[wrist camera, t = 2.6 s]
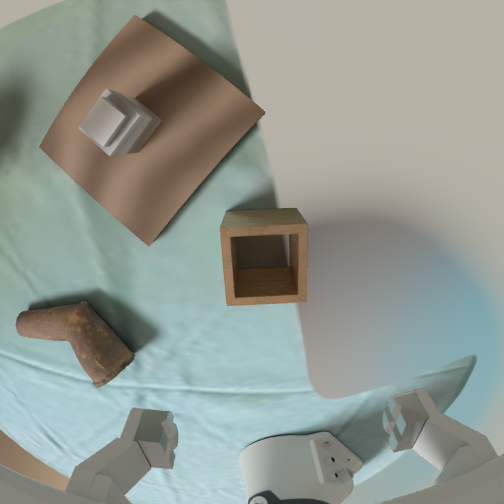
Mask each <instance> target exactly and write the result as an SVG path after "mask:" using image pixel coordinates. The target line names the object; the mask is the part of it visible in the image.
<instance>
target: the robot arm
mask: <svg viewBox="0 0 504 504" xmlns="http://www.w3.org/2000/svg"><path fill="white" fill-rule="evenodd" d="M387 405H388V407H387V408H386V409H385V410H384V412H383V416H382V423H383V427H384V430H385V432H386V433H388V434H389V435H390V438H389V443H390V445H391V448H392V450H393V452H398V451H402V450H406V449H410V448H412V449H413V450H414V451H416V452H417V453H418V454H419V455H421V456H422V457H423V458H425V459H426V460H427V461H429V462H430V463H431V464H432V465H434V466H435V467H436V468H438V469H439V470H440V471H442V472H441V474H440V475H439V476H438V478H437V479H436V480H435V482H434V484H435V486H432V487H429V488H427V489H424V490H421V491H418V492H415V493H412V494H409V495H405V496H402V497H399V498H395V499H392V500H388V501H384V502H381V503H376V504H504V454H502V455H501V456H499V457H498V455H497V453H496V452H495V450H494V448H493V447H492V445H491V443H490V442H489V440H488V438H487V437H486V436H485V435H483V434H481V433H479V432H477V431H475V430H473V429H471V428H469V427H467V426H465V425H463V424H461V423H459V422H457V421H456V420H454V419H452V418H450V417H448V416H446V415H441V414H440V412H439V411H438V409H437V407H436V405H435V404H434V402H433V400H432V399H431V397H430V396H429V394H428V392H427V391H426V390H425V389H424V388H423V389H419V390H415V391H410V392H406V393H402V394H397V395H393V396H390V397H389V398H388V400H387ZM173 418H174V417H173V415H172V412H170V411H159V410H150V409H140V408H133V409H132V410H131V411H130V413H129V416H128V418H127V421H126V424H125V426H124V429H123V432H122V434H121V437H120V438H116V439H115V440H113V441H112V442H110V443H109V444H108V445H106V446H105V447H103V448H102V449H101V450H99V451H98V452H96V453H95V454H94V455H92V456H91V457H89V458H88V459H86V460H85V461H83V462H82V463H80V464H79V465H78V466H76V467H75V469H74V471H73V474H72V476H71V478H70V481H69V483H68V486H67V489H66V491H63V490H60V489H57V488H54V487H52V486H49V485H47V484H44V483H41V482H39V481H37V480H34V479H32V478H29V477H27V476H25V475H22V474H20V473H18V472H16V471H13V470H12V469H9V468H8V467H6V466H3V465H1V464H0V504H131V502H130V501H129V500H128V499H127V498H126V497H125V496H124V495H125V494H126V493H127V492H128V491H129V490H130V489H131V488H132V487H133V486H134V485H135V484H136V483H137V482H138V481H139V480H140V479H141V478H142V477H143V476H144V475H145V474H146V473H147V472H148V471H149V470H150V469H151V467H155V468H166V469H173V464H174V459H175V454H174V452H173V450H174V449H175V448H176V447H177V444H178V429H177V426H176V424H174V423H173ZM238 463H239V466H240V470H241V479H242V482H243V484H244V491H245V498H246V504H340V503H341V502H342V501H343V500H344V499H345V498H347V496H349V495H350V494H351V492H352V491H353V488H354V484H353V475H354V474H355V473H357V472H358V471H359V470H360V469H361V468H362V466H363V461H362V460H361V459H360V458H358V457H357V456H356V455H355V454H354V453H353V452H351V451H350V450H349V449H348V448H347V447H345V446H344V445H343V444H342V443H341V442H340V441H339V440H337V439H336V438H335V437H334V436H333V435H332V434H330V433H329V432H319V433H314V434H310V435H287V436H277V437H272V438H267V439H264V440H260V441H258V442H255V443H253V444H251V445H249V446H248V447H246V448H245V449H244V450H243V451H242V452H241V453H240V454H239V457H238Z"/></svg>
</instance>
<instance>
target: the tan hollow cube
mask: <svg viewBox="0 0 504 504" xmlns="http://www.w3.org/2000/svg"><path fill="white" fill-rule="evenodd" d="M277 234H289V243H290V267H273V268H252V269H237V255H236V240H235V237H236V236H256V235H277ZM220 236H221V248H222V260H223V271H224V282H225V292H226V302H227V306H235V305H258V304H277V303H294V302H306V301H307V253H308V252H307V251H308V224H307V223H306V221H305V220H304V218H303V217H302V215H301V214H300V213H299V211H298V210H297V208H281V209H258V210H239V211H226V212H225V215H224V218H223V221H222V224H221V226H220Z"/></svg>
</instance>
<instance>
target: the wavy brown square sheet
mask: <svg viewBox="0 0 504 504" xmlns="http://www.w3.org/2000/svg"><path fill="white" fill-rule="evenodd" d="M264 114H265V111H264V110H262V109H261V108H260V107H259V106H258V105H257V104H255V103H254V102H253V101H252V100H251V99H250V98H248V97H247V96H246V95H245V94H244V93H242V92H241V91H240V90H239V89H237V88H236V87H235V86H234V85H233V84H231V83H230V82H229V81H228V80H226V79H225V78H224V77H223V76H221V75H220V74H219V73H217V72H216V71H215V70H214V69H212V68H211V67H210V66H208V65H207V64H206V63H204V62H203V61H202V60H200V59H199V58H198V57H196V56H195V55H194V54H192V53H191V52H189V51H188V50H187V49H185V48H184V47H183V46H181V45H180V44H178V43H177V42H175V41H174V40H173V39H171V38H170V37H168V36H167V35H165V34H164V33H162V32H161V31H159V30H158V29H156V28H155V27H153V26H152V25H150V24H149V23H147V22H146V21H144V20H143V19H141V18H139V17H138V16H136V15H134V17H133V18H132V19H131V20H130V21H129V22H128V23H127V24H126V25H125V26H124V27H123V28H122V30H121V31H120V32H119V33H118V34H117V35H116V36H115V37H114V39H113V40H112V41H111V42H110V43H109V45H108V46H107V47H106V48H105V49H104V51H103V52H102V53H101V54H100V56H99V57H98V58H97V59H96V61H95V62H94V63H93V65H92V66H91V67H90V68H89V70H88V71H87V72H86V74H85V75H84V77H83V78H82V79H81V81H80V82H79V84H78V85H77V86H76V88H75V89H74V91H73V92H72V94H71V95H70V97H69V98H68V100H67V101H66V103H65V104H64V106H63V107H62V109H61V110H60V112H59V114H58V115H57V117H56V118H55V120H54V122H53V123H52V125H51V127H50V129H49V130H48V132H47V134H46V135H45V137H44V139H43V141H42V143H41V144H40V146H39V147H40V148H41V149H42V150H43V151H44V152H45V153H46V154H47V155H48V156H49V157H50V158H51V159H52V160H53V161H54V162H55V163H56V164H57V165H58V166H59V167H60V168H61V169H62V170H63V171H65V172H66V173H67V174H68V175H69V176H70V177H71V178H72V179H73V180H74V181H75V182H76V183H77V184H78V185H80V186H81V187H82V188H83V189H84V190H85V191H86V192H87V193H88V194H89V195H90V196H92V197H93V198H94V199H95V200H96V201H97V202H98V203H99V204H100V205H102V206H103V207H104V208H105V209H106V210H107V211H108V212H109V213H111V214H112V215H113V216H114V217H115V218H116V219H117V220H119V221H120V222H121V223H122V224H123V225H124V226H125V227H127V228H128V229H129V230H130V231H131V232H132V233H134V234H135V235H136V236H137V237H138V238H139V239H141V240H142V241H143V242H144V243H145V244H147V245H148V246H150V245H151V244H152V243H153V242H154V241H155V239H156V238H157V237H158V236H159V234H160V233H161V232H162V230H163V229H164V228H165V227H166V225H167V224H168V223H169V222H170V220H171V219H172V218H173V217H174V216H175V214H176V213H177V212H178V211H179V209H180V208H181V207H182V206H183V205H184V203H185V202H186V201H187V200H188V199H189V197H190V196H191V195H192V194H193V193H194V191H195V190H196V189H197V188H198V187H199V186H200V184H201V183H202V182H203V181H204V180H205V179H206V177H207V176H208V175H209V174H210V173H211V172H212V171H213V169H214V168H215V167H216V166H217V165H218V164H219V163H220V161H221V160H222V159H223V158H224V157H225V156H226V155H227V154H228V152H229V151H230V150H231V149H232V148H233V147H234V146H235V145H236V144H237V143H238V142H239V140H240V139H241V138H242V137H243V136H244V135H245V134H246V133H247V132H248V131H249V130H250V129H251V128H252V126H253V125H254V124H255V123H256V122H257V121H258V120H259V119H260V118H261V117H262V116H263V115H264Z"/></svg>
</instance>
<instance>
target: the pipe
mask: <svg viewBox="0 0 504 504" xmlns="http://www.w3.org/2000/svg"><path fill="white" fill-rule="evenodd" d="M16 328H17V332H18V334H19V335H21V336H24V337H29V338H37V339H46V340H58V341H69V342H70V344H71V346H72V348H73V350H74V352H75V354H76V356H77V358H78V360H79V362H80V364H81V366H82V367H83V369H84V371H85V372H86V373H87V374H88V375H89V376H90V378H91V379H92V380H93V381H94V382H93V384H94V386H95V387H101V386H103V385H105V384H107V383H108V382H110V381H111V380H112V379H113V378H115V377H116V376H117V375H118V374H119V373H120V372H121V371H122V370H124V369H125V367H126V366H128V365H129V364H130V363H131V362H132V361H133V359H134V356H135V354H134V353H133V352H131V351H130V350H129V348H128V347H127V346H126V345H125V344H124V343H123V342H122V341H121V339H120V338H119V337H118V336H117V335H116V334H115V332H114V331H113V330H112V329H111V328H110V327H109V326H108V325H107V324H106V323H105V322H104V321H103V320H102V319H101V318H100V317H99V316H98V315H97V314H96V312H95V311H94V310H93V309H92V308H91V306H90V305H89V303H88V302H87V301H81V302H80V303H78V304H74V305H65V306H57V307H52V308H45V309H36V310H27V311H23V312H21V313H20V314H19V316H18V317H17V321H16Z"/></svg>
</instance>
